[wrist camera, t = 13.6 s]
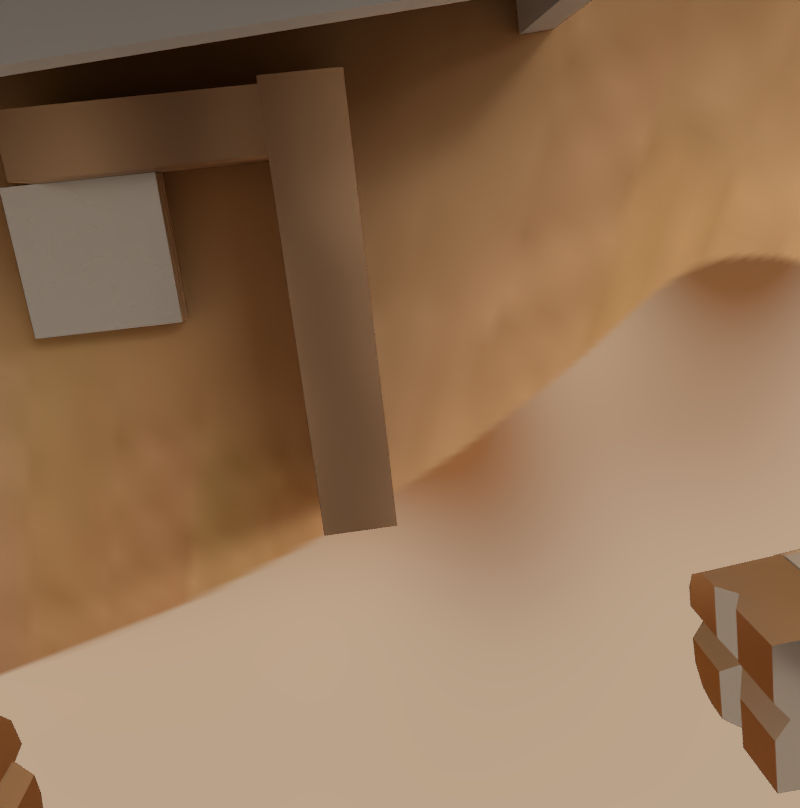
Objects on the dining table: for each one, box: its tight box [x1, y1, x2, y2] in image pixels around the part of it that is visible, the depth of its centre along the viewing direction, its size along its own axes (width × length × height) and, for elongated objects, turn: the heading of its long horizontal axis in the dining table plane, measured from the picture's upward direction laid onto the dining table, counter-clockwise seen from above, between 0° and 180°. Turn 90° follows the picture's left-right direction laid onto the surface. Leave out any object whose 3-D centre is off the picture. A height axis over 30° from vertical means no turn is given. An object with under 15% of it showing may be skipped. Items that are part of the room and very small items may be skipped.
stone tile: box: [0, 172, 188, 339], centre depth 26 cm, size 5×5×2 cm
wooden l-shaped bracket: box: [0, 67, 397, 535], centre depth 25 cm, size 10×14×5 cm
